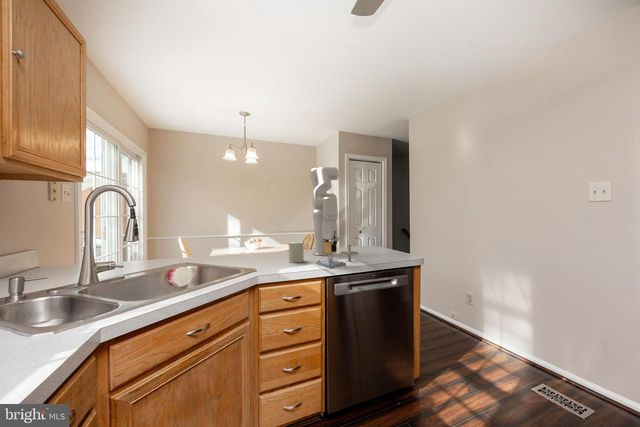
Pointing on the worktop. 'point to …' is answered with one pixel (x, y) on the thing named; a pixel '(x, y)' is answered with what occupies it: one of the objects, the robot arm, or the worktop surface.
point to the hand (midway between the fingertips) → (330, 250)
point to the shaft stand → (330, 262)
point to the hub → (328, 247)
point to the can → (296, 251)
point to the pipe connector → (349, 252)
